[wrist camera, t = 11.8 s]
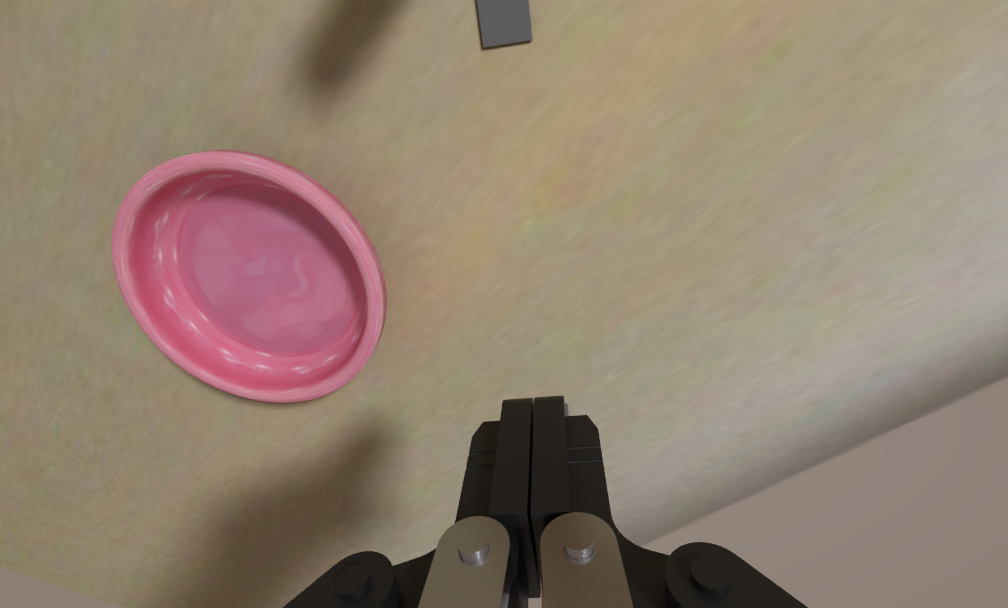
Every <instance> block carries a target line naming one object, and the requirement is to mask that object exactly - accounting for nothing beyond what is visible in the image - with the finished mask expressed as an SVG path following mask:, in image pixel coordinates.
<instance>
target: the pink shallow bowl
mask: <svg viewBox="0 0 1008 608" xmlns="http://www.w3.org/2000/svg"><path fill="white" fill-rule="evenodd" d="M112 260H113V266H114V271H115V275H116V279H117V283H118V285H119V288H120V291H121V293H122V296H123V298H124V300H125V302H126V304H127V306H128V308H129V310H130V312H131V314H132V315H133V317H134V319H135V320H136V322H137V323H138V325H139V326H140V327H141V329H142V330H143V332H144V333H145V334H146V335H147V336H148V337H149V339H150V340H151V341H152V342H153V343H154V344H155V345H156V346H157V347H158V348H159V349H160V351H161V352H163V353H164V354H165V355H166V356H167V357H168V358H169V359H170V360H172V361H173V362H174V363H176V364H177V365H178V366H179V367H181V368H182V369H184V370H185V371H186V372H188V373H190V374H191V375H193V376H194V377H196V378H198V379H199V380H201V381H203V382H205V383H207V384H209V385H211V386H213V387H215V388H218V389H220V390H222V391H225V392H228V393H231V394H234V395H237V396H240V397H244V398H248V399H252V400H258V401H265V402H278V403H289V402H301V401H307V400H312V399H316V398H319V397H322V396H325V395H327V394H329V393H332V392H334V391H336V390H338V389H339V388H341V387H343V386H344V385H345V384H347V383H348V382H349V381H351V380H352V379H353V378H354V377H355V376H356V375H357V374H358V373H359V372H360V371H361V370H362V369H363V367H364V366H365V365H366V363H367V362H368V360H369V359H370V357H371V355H372V354H373V352H374V350H375V348H376V346H377V344H378V342H379V340H380V337H381V334H382V331H383V327H384V323H385V317H386V307H387V296H386V287H385V280H384V276H383V271H382V268H381V264H380V261H379V259H378V256H377V254H376V251H375V249H374V247H373V245H372V243H371V241H370V240H369V238H368V236H367V234H366V233H365V231H364V230H363V228H362V227H361V225H360V224H359V222H358V221H357V220H356V218H355V217H354V216H353V214H352V213H351V212H350V211H349V210H348V209H347V208H346V207H345V206H344V204H343V203H342V202H341V201H340V200H339V199H338V198H337V197H335V196H334V195H333V194H332V193H331V192H330V191H328V190H327V189H326V188H325V187H323V186H322V185H321V184H319V183H318V182H317V181H315V180H314V179H312V178H311V177H309V176H308V175H306V174H304V173H303V172H301V171H299V170H297V169H295V168H293V167H291V166H289V165H287V164H284V163H282V162H279V161H277V160H274V159H271V158H268V157H265V156H261V155H257V154H253V153H248V152H242V151H231V150H216V151H204V152H198V153H193V154H188V155H184V156H181V157H177V158H174V159H172V160H169V161H167V162H164V163H162V164H161V165H159V166H157V167H156V168H154V169H152V170H151V171H149V172H148V173H147V174H145V175H144V176H143V177H142V178H140V179H139V180H138V181H137V182H136V183H135V185H134V186H133V187H132V188H131V189H130V190H129V192H128V193H127V195H126V196H125V198H124V200H123V202H122V204H121V205H120V208H119V210H118V213H117V216H116V219H115V223H114V227H113V233H112Z"/></svg>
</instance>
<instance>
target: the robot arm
mask: <svg viewBox="0 0 1008 608" xmlns="http://www.w3.org/2000/svg"><path fill="white" fill-rule="evenodd" d="M466 467H467V470H466V471H465V476H464V481H463V486H462V491H461V496H460V501H459V506H458V511H457V516H456V521H455V524H453V525H452V526H451V527H449V528H448V529H447V530H446V531H445V533H444V534H443V535H442V537H441V538H440V540H439V542H438V545H437V548H436V549H434V550H433V551H431V552H429V553H428V554H426V555H423V556H421V557H418V558H415V559H412V560H410V561H407V562H404V563H401V564H398V565H395V566H392V564H391V562H390V561H389V559H388V558H387V557H385V556H384V555H383V554H380V553H378V552H373V551H365V552H359V553H355V554H353V555H350V556H348V557H346V558H344V559H342V560H341V561H339V562H338V563H337V564H335V565H334V566H333V567H332V568H330V569H329V570H328V571H327V572H326V573H324V574H323V575H322V576H321V577H319V578H318V579H317V580H316V581H315V582H313V583H312V584H311V585H310V586H309V587H307V588H306V589H305V590H304V591H302V592H301V593H300V594H299V595H298V596H296V597H295V598H294V599H293V600H291V601H290V602H289V603H288V604H287V605H285V606H284V607H283V608H528V598H540V595H541V583H542V589H543V595H544V603H545V608H808V607H806V606H805V605H804V604H802V603H801V602H800V601H798V600H797V599H795V598H794V597H792V596H791V595H790V594H789V593H787V592H786V591H785V590H783V589H782V588H780V587H779V586H778V585H776V584H775V583H774V582H772V581H771V580H769V579H768V578H767V577H765V576H764V575H763V574H761V573H760V572H759V571H757V570H756V569H754V568H753V567H752V566H751V565H749V564H748V563H746V562H745V561H744V560H742V559H741V558H740V557H738V556H737V555H735V554H734V553H732V552H731V551H729V550H727V549H725V548H723V547H721V546H718V545H715V544H711V543H703V542H695V543H689V544H685V545H683V546H680V547H679V548H677V549H676V550H675V551H673V552H672V554H671V555H670V556H669V555H666V554H662V553H658V552H654V551H650V550H647V549H644V548H641V547H639V546H637V545H635V544H633V543H632V542H630V541H629V540H627V539H626V538H625V537H624V536H623V535H622V534H621V533H620V532H619V531H618V529H617V528H616V526H615V525H614V522H613V520H612V516H611V511H610V505H609V498H608V492H607V485H606V479H605V472H604V465H603V459H602V452H601V446H600V439H599V433H598V428H597V427H596V426H595V424H594V423H593V422H592V421H591V419H590V418H589V417H588V416H587V415H580V416H566V413H565V404H564V396H551V397H536V398H534V403H533V398H524V399H509V400H503V403H502V410H501V418H500V421H489V422H483V423H482V424H481V426H480V427H479V428H478V430H477V431H476V432H475V434H474V435H473V436H472V441H471V446H470V451H469V456H468V461H467V466H466Z"/></svg>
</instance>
